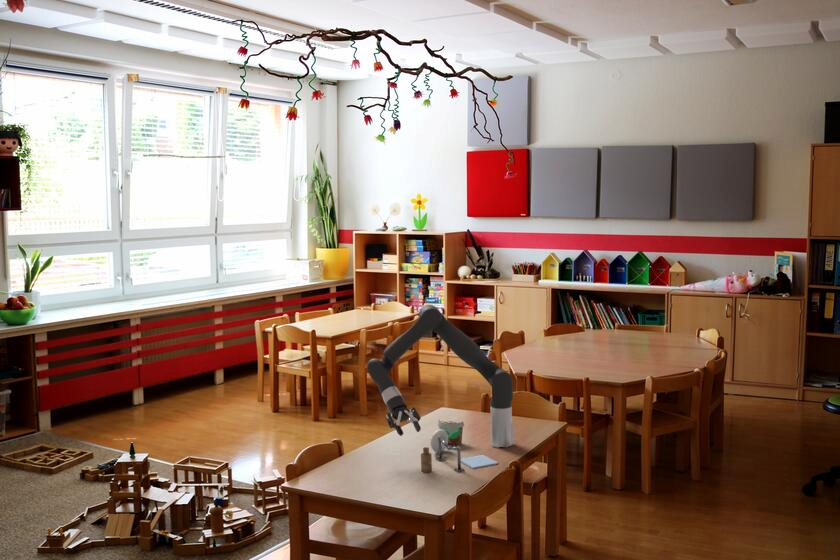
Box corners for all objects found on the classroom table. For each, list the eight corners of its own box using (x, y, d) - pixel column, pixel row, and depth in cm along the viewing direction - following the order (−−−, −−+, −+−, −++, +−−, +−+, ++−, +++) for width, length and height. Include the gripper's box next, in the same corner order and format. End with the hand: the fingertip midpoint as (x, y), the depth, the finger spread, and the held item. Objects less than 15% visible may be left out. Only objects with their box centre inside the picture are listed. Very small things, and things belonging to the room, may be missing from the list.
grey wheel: (435, 456, 333) (434, 432, 332) (429, 454, 335) (428, 431, 334) (450, 450, 340) (449, 427, 339) (443, 448, 342) (443, 426, 342)
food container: (433, 444, 348) (433, 422, 347) (438, 441, 354) (438, 419, 353) (460, 447, 343) (459, 424, 343) (464, 443, 349) (464, 421, 348)
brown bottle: (428, 469, 316) (428, 445, 315) (433, 472, 313) (433, 448, 312) (419, 470, 314) (418, 447, 314) (424, 473, 311) (423, 450, 310)
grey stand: (441, 458, 330) (441, 435, 329) (464, 471, 313) (463, 446, 312) (435, 459, 328) (434, 436, 327) (457, 472, 311) (457, 448, 310)
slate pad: (482, 456, 331) (482, 454, 331) (498, 463, 320) (498, 462, 320) (457, 460, 325) (457, 459, 325) (472, 469, 315) (472, 467, 315)
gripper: (382, 397, 322) (399, 431, 314) (411, 392, 330) (428, 424, 322) (376, 408, 327) (392, 441, 319) (404, 402, 335) (421, 434, 327)
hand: (410, 432), depth 320 cm, fingers open, 8 cm apart
